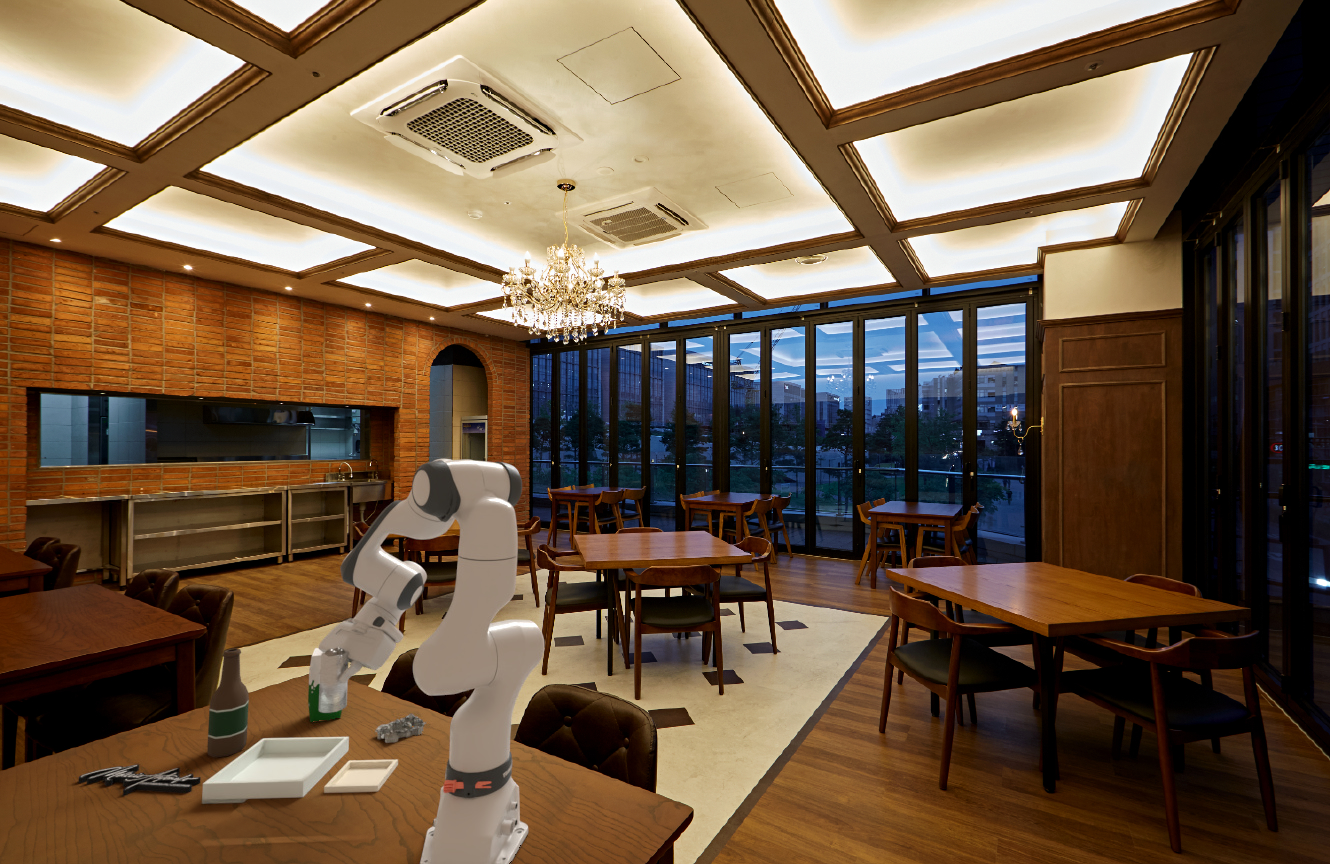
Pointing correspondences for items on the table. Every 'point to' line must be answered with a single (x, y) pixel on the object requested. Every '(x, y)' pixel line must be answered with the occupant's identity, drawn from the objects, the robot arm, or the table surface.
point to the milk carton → (317, 690)
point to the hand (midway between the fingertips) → (331, 678)
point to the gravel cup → (333, 680)
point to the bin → (275, 769)
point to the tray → (361, 776)
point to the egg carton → (400, 728)
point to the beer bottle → (228, 710)
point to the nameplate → (142, 779)
